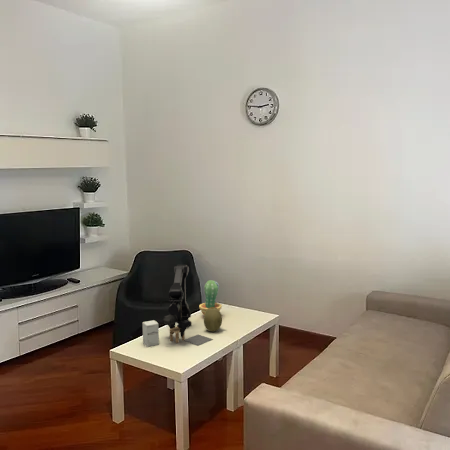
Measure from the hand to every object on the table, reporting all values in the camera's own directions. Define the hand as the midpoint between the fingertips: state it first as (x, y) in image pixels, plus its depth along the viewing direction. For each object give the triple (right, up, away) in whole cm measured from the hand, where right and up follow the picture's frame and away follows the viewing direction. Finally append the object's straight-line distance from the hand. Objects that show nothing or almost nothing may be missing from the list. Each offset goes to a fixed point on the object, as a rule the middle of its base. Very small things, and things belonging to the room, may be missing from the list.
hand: (177, 335), depth 275 cm
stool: (0, -3, 0) cm, 3 cm away
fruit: (+20, -1, +16) cm, 26 cm away
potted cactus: (+18, +2, +41) cm, 45 cm away
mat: (+12, -3, 0) cm, 12 cm away
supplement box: (-15, -4, -4) cm, 16 cm away
